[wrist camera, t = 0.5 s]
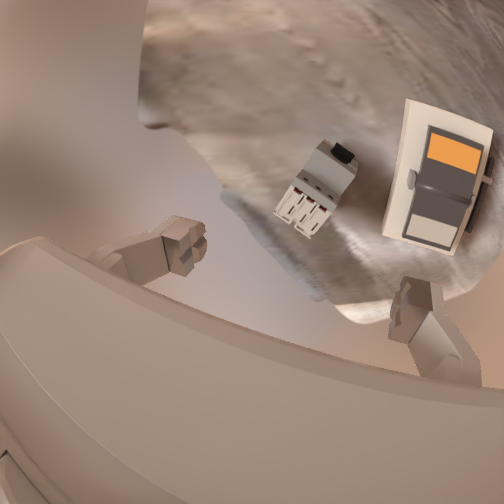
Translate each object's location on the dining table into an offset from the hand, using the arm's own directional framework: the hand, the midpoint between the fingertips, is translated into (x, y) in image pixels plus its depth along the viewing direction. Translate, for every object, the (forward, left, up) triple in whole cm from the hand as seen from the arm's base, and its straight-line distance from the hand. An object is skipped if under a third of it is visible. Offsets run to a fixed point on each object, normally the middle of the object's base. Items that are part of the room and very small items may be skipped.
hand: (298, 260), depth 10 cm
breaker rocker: (+7, +16, -35) cm, 39 cm away
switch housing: (+7, +16, -45) cm, 48 cm away
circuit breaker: (+11, -5, -45) cm, 47 cm away
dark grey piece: (+7, +27, -45) cm, 53 cm away
